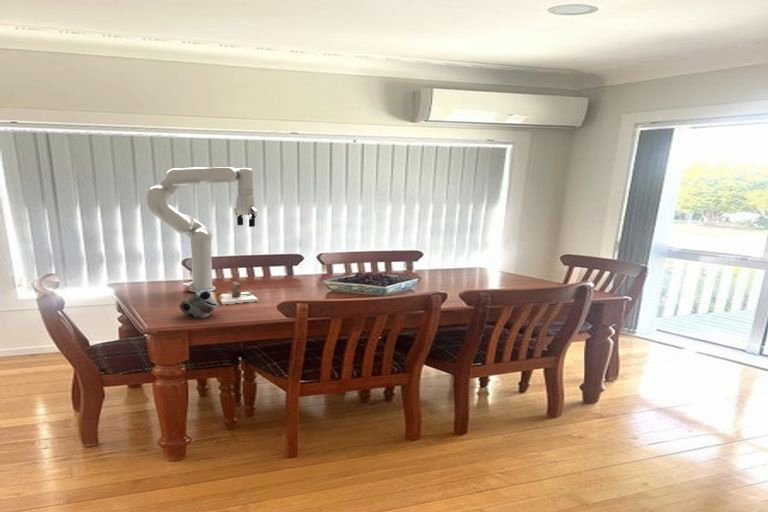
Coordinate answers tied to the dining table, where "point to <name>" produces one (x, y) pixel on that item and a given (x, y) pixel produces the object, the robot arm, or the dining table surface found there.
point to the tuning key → (237, 289)
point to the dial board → (237, 298)
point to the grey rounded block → (201, 304)
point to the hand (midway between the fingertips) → (246, 225)
